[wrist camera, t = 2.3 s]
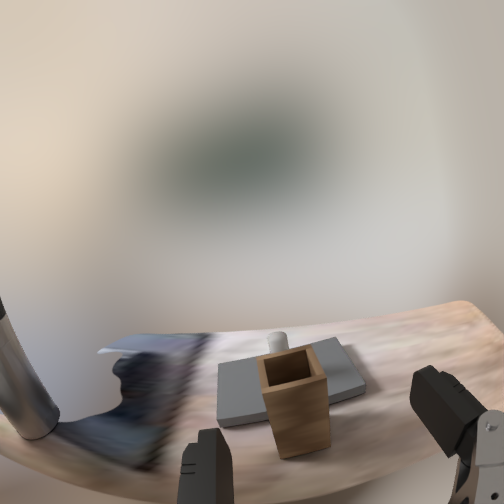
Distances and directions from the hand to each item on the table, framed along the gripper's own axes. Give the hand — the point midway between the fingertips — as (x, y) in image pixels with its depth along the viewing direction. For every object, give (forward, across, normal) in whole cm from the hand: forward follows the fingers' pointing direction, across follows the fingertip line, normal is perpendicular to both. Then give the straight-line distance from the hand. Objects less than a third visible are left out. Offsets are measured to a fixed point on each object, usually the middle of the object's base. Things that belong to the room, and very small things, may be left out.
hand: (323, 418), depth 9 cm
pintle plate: (+20, 0, +16) cm, 26 cm away
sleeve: (+12, 0, +16) cm, 20 cm away
